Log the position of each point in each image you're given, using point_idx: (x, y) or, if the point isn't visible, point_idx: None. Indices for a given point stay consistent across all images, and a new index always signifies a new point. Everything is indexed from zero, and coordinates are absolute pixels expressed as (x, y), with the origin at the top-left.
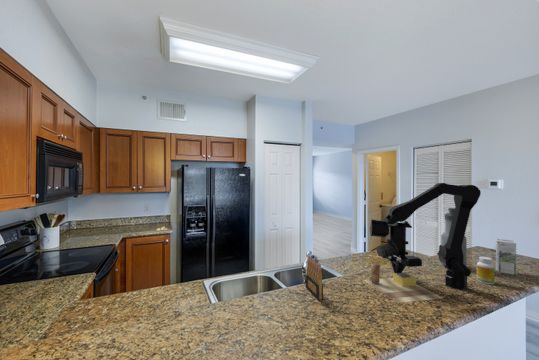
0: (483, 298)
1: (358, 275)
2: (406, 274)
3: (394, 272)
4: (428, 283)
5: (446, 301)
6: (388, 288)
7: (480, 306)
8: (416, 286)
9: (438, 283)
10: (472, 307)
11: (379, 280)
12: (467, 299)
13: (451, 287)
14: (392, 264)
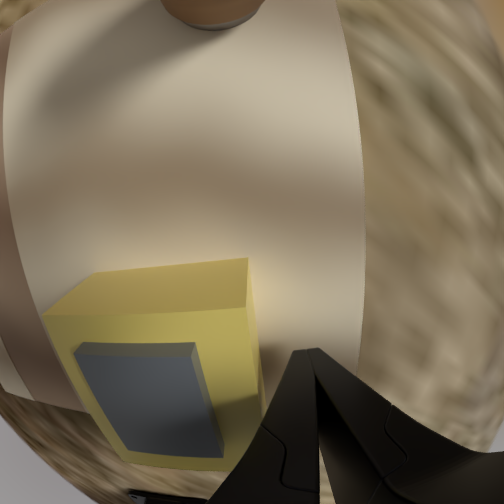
0: (101, 497)
1: (476, 36)
2: (153, 440)
3: (340, 371)
4: None
5: None
6: (60, 85)
7: (30, 446)
8: None
9: None
10: (10, 421)
11: (172, 10)
12: (71, 465)
13: (146, 501)
14: (413, 453)
